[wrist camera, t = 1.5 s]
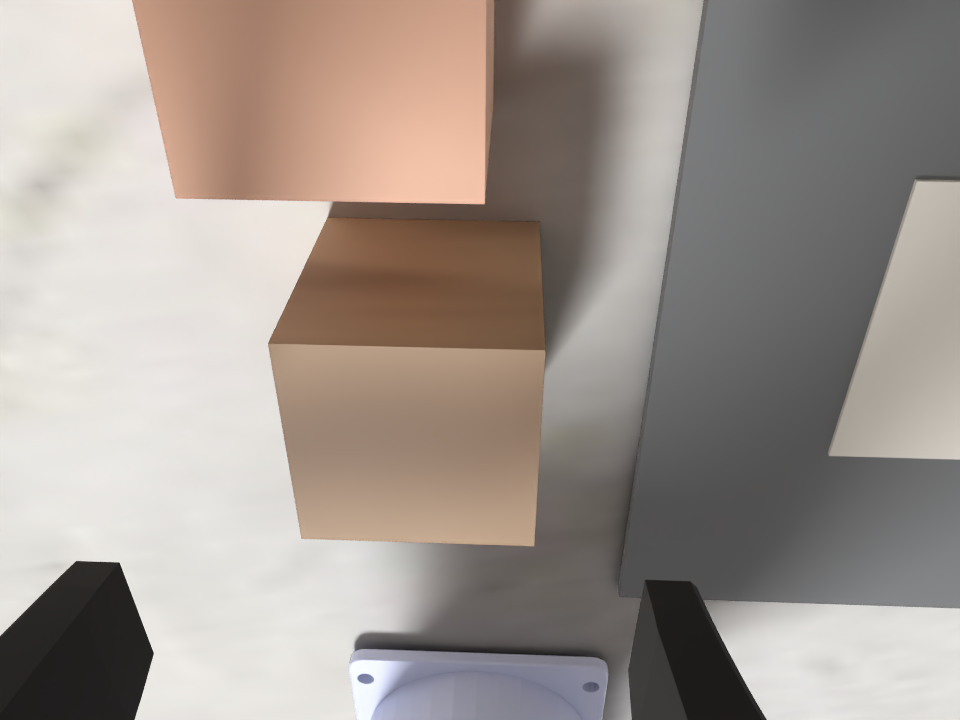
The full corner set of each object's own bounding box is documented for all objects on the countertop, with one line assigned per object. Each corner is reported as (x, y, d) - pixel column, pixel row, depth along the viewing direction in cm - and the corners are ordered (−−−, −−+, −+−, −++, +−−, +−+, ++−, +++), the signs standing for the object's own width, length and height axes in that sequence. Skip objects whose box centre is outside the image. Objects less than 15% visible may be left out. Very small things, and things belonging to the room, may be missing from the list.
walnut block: (531, 391, 20) (534, 546, 16) (346, 386, 20) (301, 538, 16) (539, 220, 17) (545, 350, 13) (328, 216, 17) (267, 343, 13)
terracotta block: (493, 100, 16) (484, 204, 12) (264, 97, 16) (176, 197, 12) (497, -176, 13) (487, -170, 9) (224, -178, 13) (94, -171, 9)
